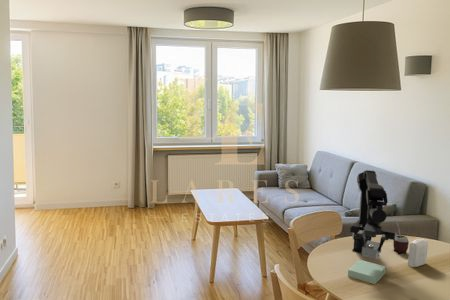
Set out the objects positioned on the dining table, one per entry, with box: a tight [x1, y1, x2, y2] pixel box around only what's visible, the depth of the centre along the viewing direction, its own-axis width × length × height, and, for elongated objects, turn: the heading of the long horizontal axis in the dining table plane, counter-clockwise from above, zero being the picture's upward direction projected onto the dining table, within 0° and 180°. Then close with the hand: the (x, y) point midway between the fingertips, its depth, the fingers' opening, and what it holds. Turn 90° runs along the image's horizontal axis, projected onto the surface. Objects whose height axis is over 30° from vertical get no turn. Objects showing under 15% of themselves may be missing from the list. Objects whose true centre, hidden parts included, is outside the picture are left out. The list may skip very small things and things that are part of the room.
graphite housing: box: [361, 240, 382, 260], centre depth 193 cm, size 10×6×5 cm, turn 148°
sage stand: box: [347, 259, 387, 285], centre depth 194 cm, size 12×14×3 cm
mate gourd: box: [392, 219, 410, 255], centre depth 220 cm, size 8×8×15 cm
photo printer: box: [407, 238, 429, 268], centre depth 205 cm, size 10×4×12 cm, turn 123°
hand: (371, 249), depth 193 cm, fingers closed on graphite housing, 6 cm apart
